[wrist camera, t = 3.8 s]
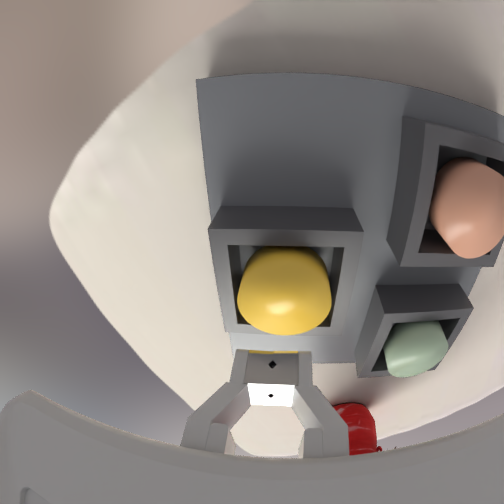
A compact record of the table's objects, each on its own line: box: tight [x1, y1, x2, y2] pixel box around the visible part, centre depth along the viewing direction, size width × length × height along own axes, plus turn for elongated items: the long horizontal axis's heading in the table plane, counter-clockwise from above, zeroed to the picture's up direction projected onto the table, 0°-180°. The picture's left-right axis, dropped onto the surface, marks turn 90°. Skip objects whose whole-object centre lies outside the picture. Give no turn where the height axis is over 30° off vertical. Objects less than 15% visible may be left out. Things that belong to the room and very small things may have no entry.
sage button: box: [383, 320, 448, 377], centre depth 15 cm, size 4×4×2 cm
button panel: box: [196, 73, 504, 378], centre depth 15 cm, size 18×20×4 cm
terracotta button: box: [428, 157, 504, 259], centre depth 9 cm, size 4×4×2 cm
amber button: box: [237, 246, 332, 335], centre depth 13 cm, size 4×4×2 cm
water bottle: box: [333, 403, 396, 456], centre depth 19 cm, size 12×8×25 cm, turn 86°
